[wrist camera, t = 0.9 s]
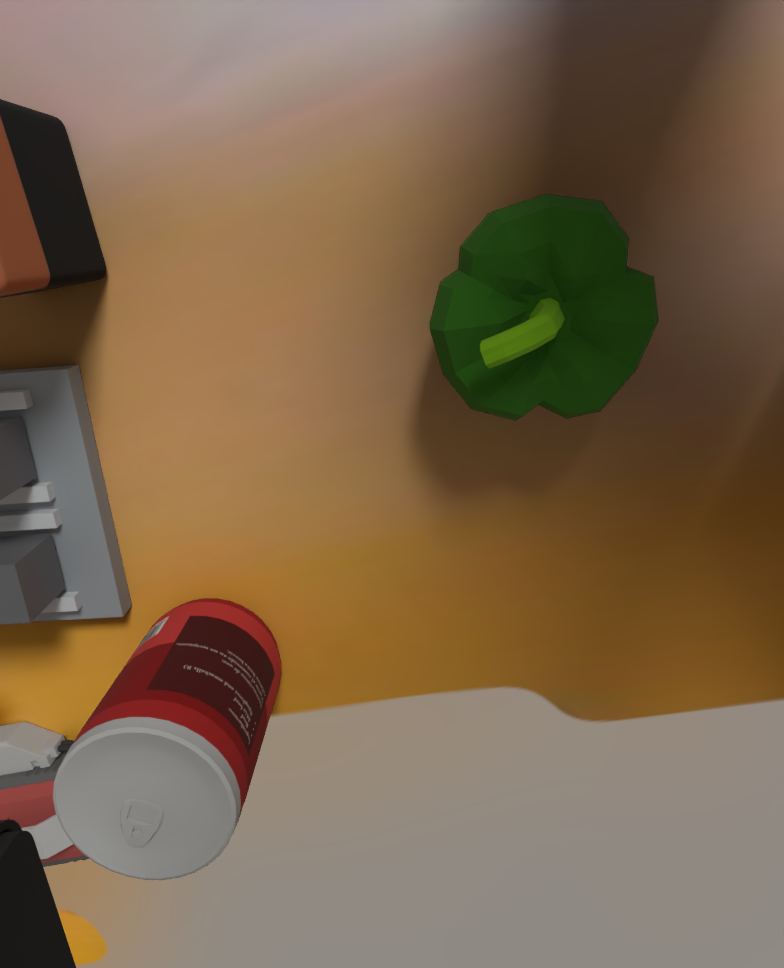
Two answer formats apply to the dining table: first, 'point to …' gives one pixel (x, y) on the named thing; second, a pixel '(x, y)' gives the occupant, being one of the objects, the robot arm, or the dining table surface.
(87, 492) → the breaker panel
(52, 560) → the toggle plain
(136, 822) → the canned food
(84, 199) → the battery
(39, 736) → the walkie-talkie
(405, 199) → the dining table surface
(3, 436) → the block
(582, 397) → the bell pepper
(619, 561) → the dining table surface
